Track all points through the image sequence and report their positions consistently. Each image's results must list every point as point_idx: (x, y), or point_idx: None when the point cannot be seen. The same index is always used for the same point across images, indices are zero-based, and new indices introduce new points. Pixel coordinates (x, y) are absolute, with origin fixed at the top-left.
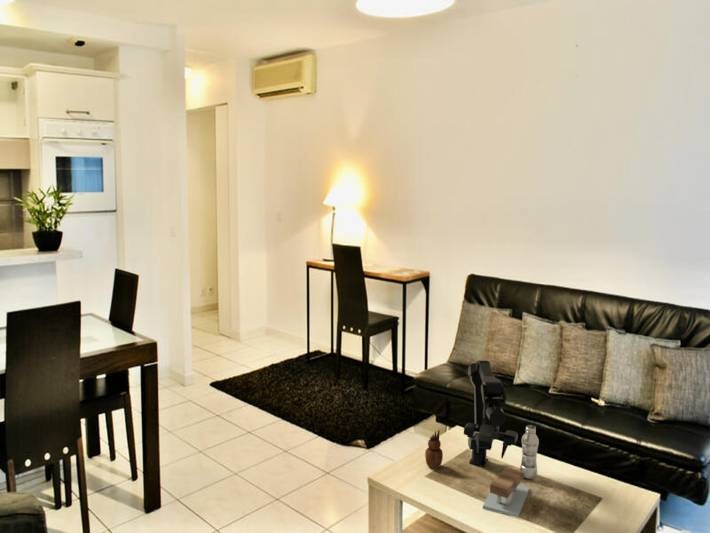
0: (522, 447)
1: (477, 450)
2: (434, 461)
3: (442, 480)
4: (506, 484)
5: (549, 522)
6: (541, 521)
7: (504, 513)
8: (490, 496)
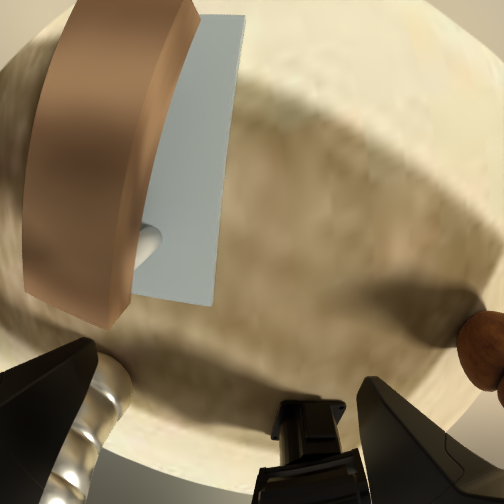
0: (79, 465)
1: (376, 396)
2: (495, 322)
3: (458, 230)
4: (74, 55)
5: (11, 76)
6: (28, 64)
7: None
8: (215, 112)
